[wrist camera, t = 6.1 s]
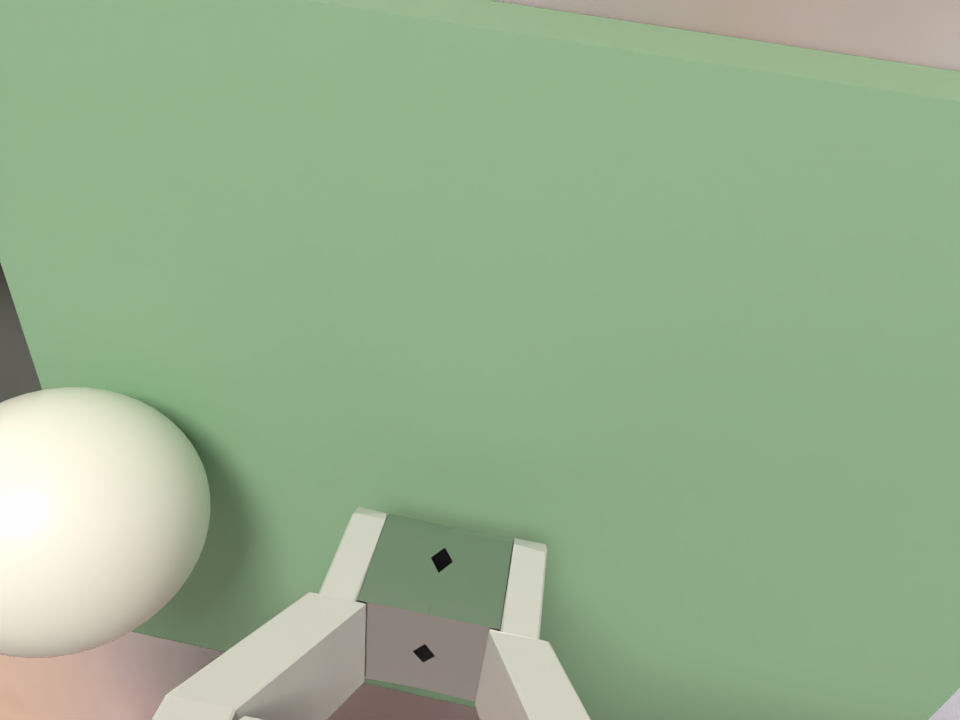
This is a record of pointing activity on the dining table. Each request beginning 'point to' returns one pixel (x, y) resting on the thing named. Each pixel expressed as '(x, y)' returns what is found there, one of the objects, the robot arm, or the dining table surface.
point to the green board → (520, 320)
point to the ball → (92, 518)
